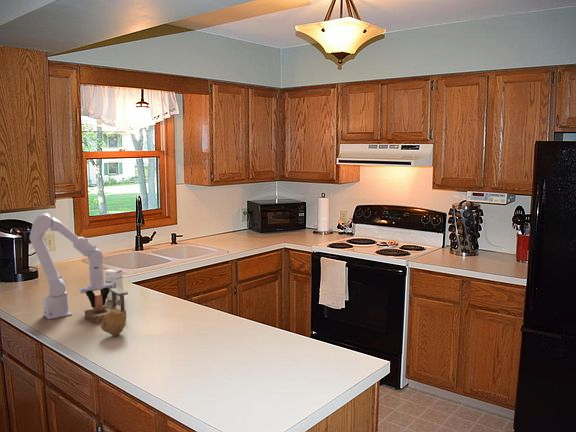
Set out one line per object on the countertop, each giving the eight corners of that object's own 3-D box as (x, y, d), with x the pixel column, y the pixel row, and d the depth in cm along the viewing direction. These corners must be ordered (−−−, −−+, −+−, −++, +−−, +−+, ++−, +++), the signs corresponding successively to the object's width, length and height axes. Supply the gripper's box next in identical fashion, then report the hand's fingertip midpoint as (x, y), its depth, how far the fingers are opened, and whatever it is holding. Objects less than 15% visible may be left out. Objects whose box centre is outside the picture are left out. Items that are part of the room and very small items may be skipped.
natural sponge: (100, 341, 193) (99, 315, 192) (102, 332, 202) (101, 308, 200) (126, 338, 196) (125, 312, 194) (127, 330, 204) (125, 305, 203)
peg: (95, 312, 227) (94, 296, 226) (92, 310, 230) (91, 294, 229) (104, 310, 229) (103, 295, 228) (101, 308, 232) (100, 293, 231)
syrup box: (124, 298, 248) (122, 268, 246) (116, 301, 242) (115, 271, 240) (113, 297, 249) (112, 267, 247) (106, 300, 243) (104, 270, 242)
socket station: (94, 324, 212) (92, 299, 210) (84, 317, 220) (83, 293, 218) (129, 316, 221) (128, 292, 220) (119, 310, 229) (118, 287, 228)
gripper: (82, 280, 220) (84, 311, 222) (116, 274, 229) (117, 304, 231) (77, 277, 225) (79, 307, 227) (110, 272, 234) (111, 301, 236)
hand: (98, 306), depth 229 cm, fingers closed on peg, 4 cm apart
